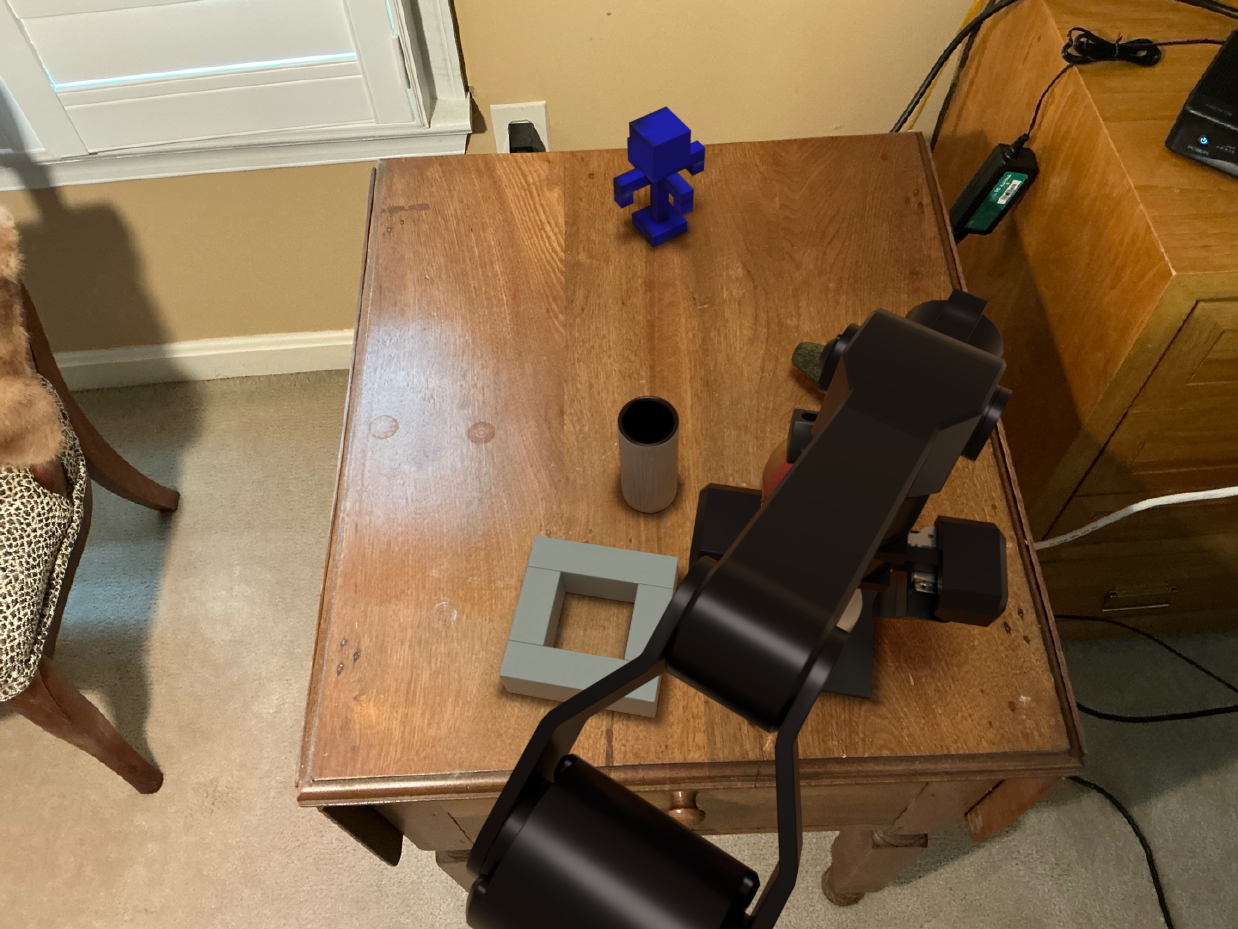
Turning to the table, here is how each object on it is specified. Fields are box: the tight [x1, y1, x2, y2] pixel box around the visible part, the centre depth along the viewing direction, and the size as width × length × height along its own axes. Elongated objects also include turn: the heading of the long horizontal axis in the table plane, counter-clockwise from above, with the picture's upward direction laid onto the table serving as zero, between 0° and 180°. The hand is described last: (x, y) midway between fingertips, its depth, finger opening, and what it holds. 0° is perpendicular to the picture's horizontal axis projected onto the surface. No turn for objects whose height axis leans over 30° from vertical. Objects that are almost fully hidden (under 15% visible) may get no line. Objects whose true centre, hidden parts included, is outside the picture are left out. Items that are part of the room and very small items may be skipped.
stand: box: [498, 535, 680, 719], centre depth 65 cm, size 11×11×4 cm
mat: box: [821, 589, 876, 700], centre depth 66 cm, size 9×9×1 cm
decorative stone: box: [790, 341, 826, 389], centre depth 75 cm, size 11×8×5 cm
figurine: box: [612, 106, 706, 248], centre depth 83 cm, size 8×8×12 cm
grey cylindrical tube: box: [616, 395, 680, 514], centre depth 69 cm, size 4×4×10 cm
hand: (822, 603), depth 62 cm, fingers open, 7 cm apart
